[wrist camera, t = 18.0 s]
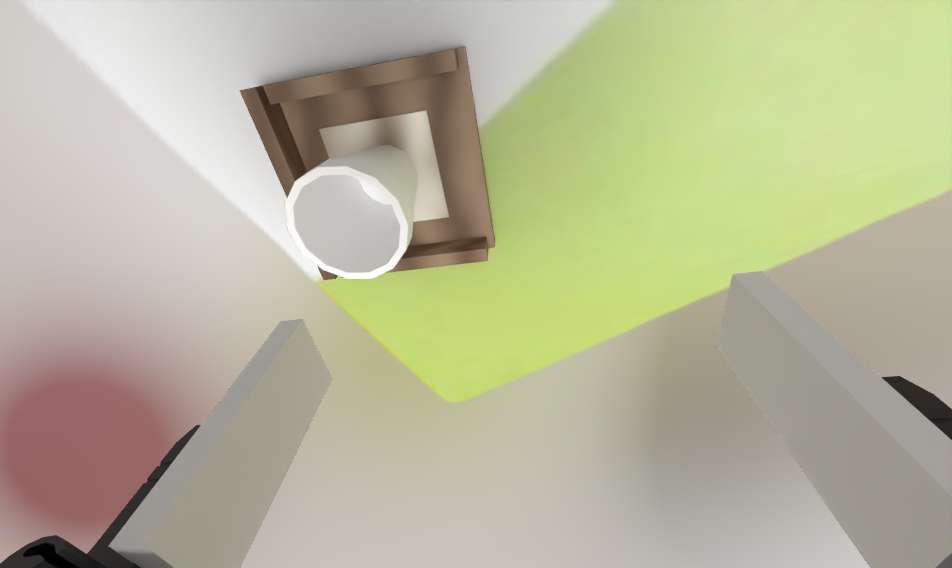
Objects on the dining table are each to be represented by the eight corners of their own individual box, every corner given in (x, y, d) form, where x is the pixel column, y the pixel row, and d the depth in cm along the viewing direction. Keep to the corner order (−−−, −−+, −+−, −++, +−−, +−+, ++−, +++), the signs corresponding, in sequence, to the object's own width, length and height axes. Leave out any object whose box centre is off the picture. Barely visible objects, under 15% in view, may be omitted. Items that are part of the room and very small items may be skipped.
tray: (465, 46, 35) (461, 48, 31) (494, 241, 46) (494, 260, 42) (265, 85, 38) (239, 90, 34) (337, 261, 48) (323, 280, 44)
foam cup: (369, 107, 37) (315, 137, 26) (449, 165, 39) (431, 214, 28) (329, 185, 41) (268, 239, 30) (404, 232, 44) (372, 297, 33)
